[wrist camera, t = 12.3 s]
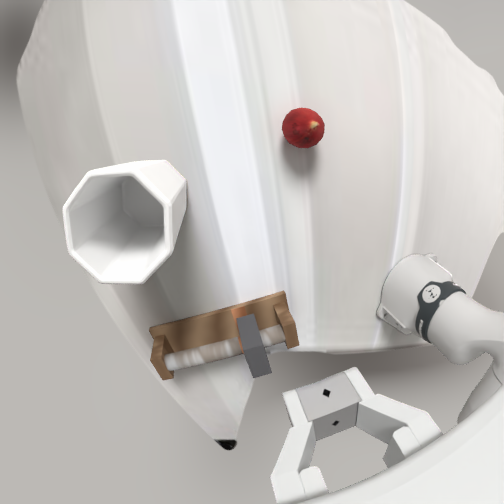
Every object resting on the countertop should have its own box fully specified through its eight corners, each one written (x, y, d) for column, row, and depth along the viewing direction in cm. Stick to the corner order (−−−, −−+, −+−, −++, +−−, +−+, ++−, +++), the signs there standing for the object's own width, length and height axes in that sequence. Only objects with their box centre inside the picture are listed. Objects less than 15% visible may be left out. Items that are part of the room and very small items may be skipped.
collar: (253, 313, 45) (263, 344, 37) (261, 341, 47) (271, 372, 40) (236, 318, 45) (242, 350, 37) (245, 345, 47) (253, 378, 40)
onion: (304, 154, 40) (325, 155, 32) (270, 138, 38) (285, 136, 31) (318, 121, 38) (341, 117, 31) (285, 105, 36) (303, 95, 29)
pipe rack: (283, 290, 48) (296, 314, 41) (291, 325, 51) (303, 350, 44) (149, 327, 46) (143, 354, 39) (167, 358, 49) (164, 386, 42)
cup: (201, 174, 38) (197, 192, 21) (173, 241, 41) (153, 305, 24) (132, 147, 35) (79, 147, 18) (108, 216, 38) (52, 262, 21)
